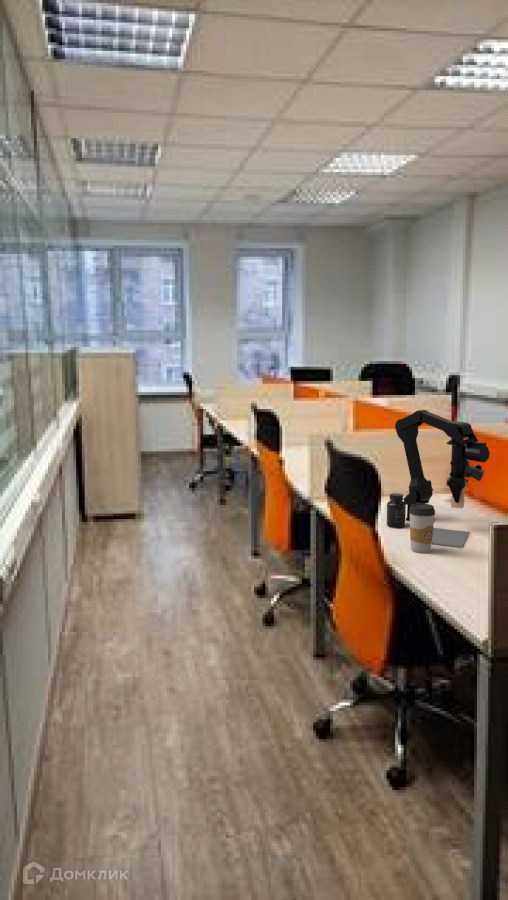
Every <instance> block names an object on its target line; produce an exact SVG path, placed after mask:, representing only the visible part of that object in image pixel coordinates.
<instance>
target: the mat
mask: <svg viewBox="0 0 508 900" xmlns="http://www.w3.org/2000/svg"><path fill="white" fill-rule="evenodd" d="M469 535H470V531H465V530H457V529H448V528H441V527H440V528H439V527H434V528H433V536H432V543H431V545H435V546H444V547H449V548H458V549H462V548H463V546H464V544H465V543H466V540H467V538H468V537H469Z"/></svg>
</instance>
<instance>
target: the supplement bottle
mask: <svg viewBox="0 0 508 900" xmlns="http://www.w3.org/2000/svg"><path fill="white" fill-rule="evenodd" d="M403 499H404V494H403V493H396V492H395V493H390V494H389V501H388V502H387V503H386V526H387V527H389V528H391V529H401V528H405V526H406V515H407V510H406V509H407V505H406V504H405V502H404V500H403Z"/></svg>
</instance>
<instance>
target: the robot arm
mask: <svg viewBox="0 0 508 900" xmlns="http://www.w3.org/2000/svg"><path fill="white" fill-rule="evenodd" d="M423 424H426V425H428V426H430V427H433V428H435V429H438V430H441V431H442V432H443V433H444V434H446V436H448V437H449V438H450V440H449V441H447V442H446V445H449V446H451V459H450V463H449V464H450V473H449V477H448V478H447V479H446V486H447V487H449V490H450V492H451V496H452V495H453V497H454V500H455V502H456V503H458V502H459V499H460V495H461V491H462V489H463V488H464V487H465V488H466V487H467V483H468V482H469V479H470V478H473V479H474V480H476V481H478V482H481V480H482V478H483V477H484V474H485V470H484V469H483V466H482V465H481V464H476V465H475V466H474V465H471V464H470V461H473V462H478V463H486V462H488V460H489V458H490V454H491V452H490V450H489V447H488V446H487V442H485V441H484V442H483V441H482V442H479V439H478V438H477V435H475V432H474V430H473V428H472V425H471V424H470V423H469V422H465V421H457V420H450V419H447V418H445V417H443V416H440V415H438V414H435V413H432V412H430V411H428V410H426V409H421V410H419V409H418V410H416V411H413V413H412V414H409V415H407V416H405V417H403V418H399V419H397V420H396V422H395V423H394V427H395V428H394V429H395V432H396V435H397V437H398V438H399V439H400V440H401V441H402V443H403V448H404V452H405V456H406V462H407V466H408V471H409V476H410V482H409V485H408V494H407V495H405V497H403V500H402V501H403V502H405V504H406V509H407V510H406V517H405V521H409V522H410V513H409V511H410V508H411V505H412V504H417V503H423V504H429V502H430V500H431V499H432V496H433V491H434V488H433V483H432V481H431V479H429V480H427V478H426V477H425V474H424V470H423V465H422V460H421V457H420V456H421V455H420V451H419V446H418V441H417V437H418V434H419V428H420V426H422V425H423ZM466 478H467V479H466Z"/></svg>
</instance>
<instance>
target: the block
mask: <svg viewBox="0 0 508 900" xmlns="http://www.w3.org/2000/svg"><path fill="white" fill-rule="evenodd" d="M465 491H466V486H465V487H464V488H463V489H462V491H461V495H460V499H459V502H458V503H456V502H455V500H454V497H453V495H452V494H451V500H450V501H451V502H450V503H451V504H450V508H455V509H463V508H464V507H465V496H466V495H465Z"/></svg>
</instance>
